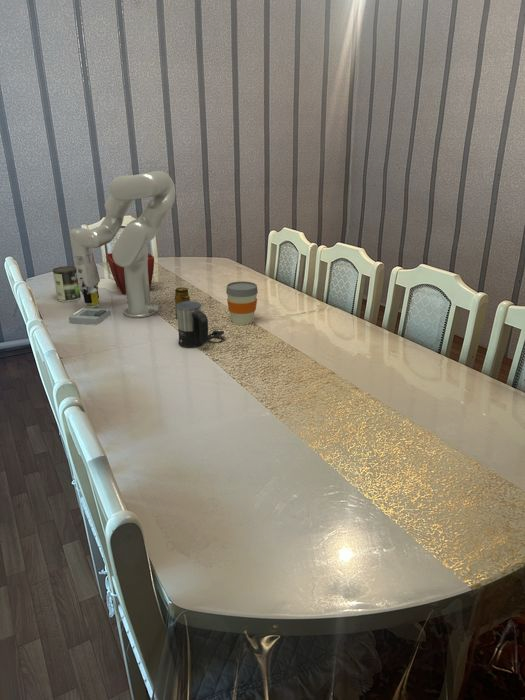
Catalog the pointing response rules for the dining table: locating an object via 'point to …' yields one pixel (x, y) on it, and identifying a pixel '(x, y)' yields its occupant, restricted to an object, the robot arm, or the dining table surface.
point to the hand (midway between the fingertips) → (92, 300)
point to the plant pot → (119, 272)
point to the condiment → (181, 297)
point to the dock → (89, 315)
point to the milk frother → (193, 325)
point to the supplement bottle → (93, 297)
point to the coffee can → (66, 283)
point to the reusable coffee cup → (242, 301)
